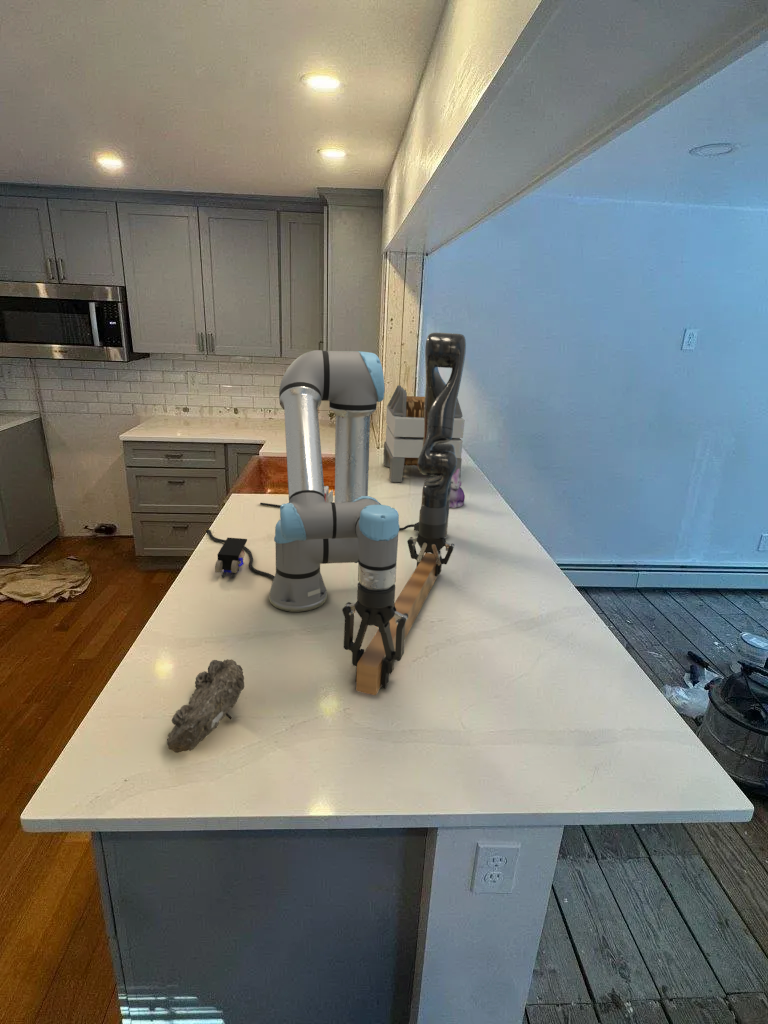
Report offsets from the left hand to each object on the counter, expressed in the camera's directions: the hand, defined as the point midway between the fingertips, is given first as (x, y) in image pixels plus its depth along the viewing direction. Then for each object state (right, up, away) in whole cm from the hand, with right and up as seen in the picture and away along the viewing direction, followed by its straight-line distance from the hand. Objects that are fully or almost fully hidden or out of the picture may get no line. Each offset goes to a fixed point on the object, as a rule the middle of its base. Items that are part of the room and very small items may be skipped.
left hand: (372, 681), depth 120 cm
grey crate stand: (+20, +55, +155) cm, 165 cm away
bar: (+8, +8, +24) cm, 26 cm away
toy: (-23, +34, +91) cm, 100 cm away
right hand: (+16, +18, +46) cm, 52 cm away
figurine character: (-42, +19, +47) cm, 66 cm away
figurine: (+31, +39, +112) cm, 123 cm away
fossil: (-30, -3, -12) cm, 33 cm away
